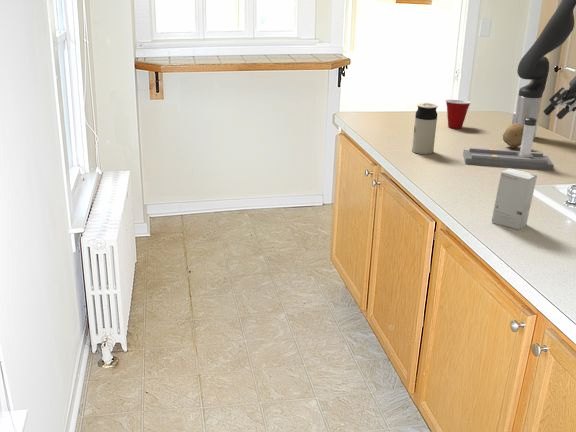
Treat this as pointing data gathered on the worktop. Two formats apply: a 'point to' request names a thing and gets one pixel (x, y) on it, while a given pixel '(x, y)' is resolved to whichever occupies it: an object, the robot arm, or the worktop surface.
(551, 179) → the worktop surface
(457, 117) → the plastic cup
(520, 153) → the fader lever
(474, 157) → the slider board
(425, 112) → the travel mug
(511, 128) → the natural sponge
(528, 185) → the skincare box
